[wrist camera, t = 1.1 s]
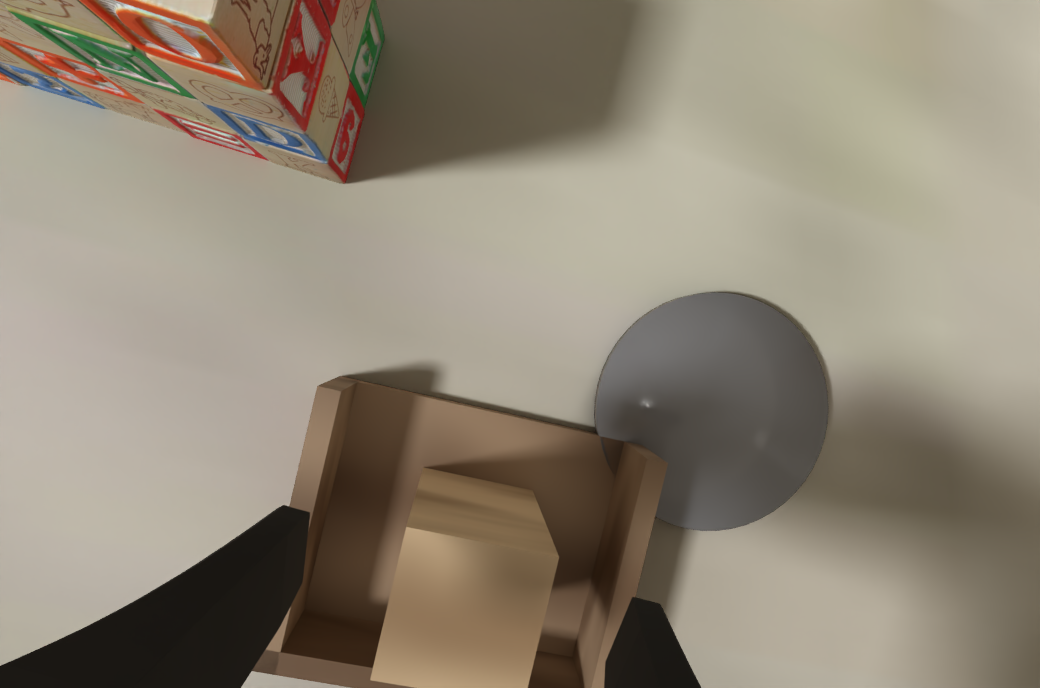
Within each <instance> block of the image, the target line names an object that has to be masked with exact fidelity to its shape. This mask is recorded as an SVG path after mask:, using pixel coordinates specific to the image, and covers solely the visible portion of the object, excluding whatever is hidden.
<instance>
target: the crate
mask: <svg viewBox="0 0 1040 688" xmlns="http://www.w3.org/2000/svg"><path fill="white" fill-rule="evenodd" d="M600 437H601V436H599V435H598V434H597V433H594V432H589V431H585V430H580V429H576V428H571V427H567V426H562V425H558V424H553V423H549V422H544V421H540V420H535V419H531V418H527V417H522V416H518V415H513V414H509V413H504V412H500V411H495V410H491V409H486V408H482V407H477V406H473V405H468V404H464V403H459V402H455V401H450V400H446V399H441V398H437V397H432V396H428V395H423V394H419V393H414V392H410V391H405V390H401V389H396V388H392V387H387V386H383V385H378V384H374V383H369V382H365V381H361V380H356V379H352V378H347V377H343V376H339V377H337V378H335V379H332V380H330V381H328V382H326V383H323V384H321V385H319V386H317V390H316V394H315V399H314V403H313V407H312V412H311V416H310V420H309V425H308V429H307V433H306V437H305V442H304V446H303V450H302V455H301V459H300V463H299V468H298V472H297V476H296V480H295V485H294V489H293V493H292V498H291V502H290V506H289V507H292V508H296V509H300V510H304V511H308V512H310V520H309V529H308V538H307V547H306V556H305V565H304V574H303V583H302V585H301V587H300V589H299V591H298V593H297V595H296V597H295V599H294V601H293V603H292V605H291V607H290V609H289V611H288V612H287V614H286V616H285V618H284V620H283V622H282V624H281V626H280V628H279V629H278V631H277V633H276V634H275V636H274V637H273V639H272V640H271V642H270V643H269V645H268V647H267V648H266V650H265V651H264V653H263V654H262V656H261V657H260V659H259V660H258V662H257V663H256V665H255V667H254V668H253V670H252V671H255V672H261V673H267V674H273V675H279V676H285V677H291V678H297V679H303V680H309V681H315V682H321V683H327V684H333V685H339V686H345V687H351V688H414V687H408V686H402V685H396V684H390V683H384V682H378V681H372V680H370V678H371V674H372V670H373V665H374V661H375V657H376V653H377V648H378V644H379V640H380V636H381V631H382V627H383V623H384V619H385V615H386V610H387V606H388V602H389V598H390V593H391V589H392V585H393V581H394V576H395V572H396V568H397V564H398V560H399V555H400V551H401V547H402V543H403V538H404V534H405V530H406V526H407V522H408V519H409V515H410V512H411V508H412V505H413V501H414V498H415V495H416V491H417V488H418V484H419V481H420V477H421V474H422V470H423V467H424V468H429V469H433V470H438V471H443V472H448V473H452V474H457V475H462V476H467V477H472V478H476V479H481V480H486V481H491V482H496V483H500V484H505V485H510V486H515V487H519V488H524V489H529V490H533V493H534V495H535V498H536V500H537V503H538V505H539V508H540V510H541V513H542V515H543V518H544V520H545V523H546V525H547V528H548V530H549V533H550V535H551V538H552V540H553V543H554V545H555V548H556V550H557V553H558V555H559V560H558V564H557V568H556V572H555V577H554V581H553V585H552V589H551V593H550V597H549V601H548V606H547V610H546V614H545V618H544V622H543V626H542V630H541V635H540V639H539V643H538V647H537V651H536V655H535V659H534V664H533V668H532V672H531V676H530V680H529V684H528V688H604V679H605V662H606V659H607V657H608V654H609V652H610V649H611V647H612V645H613V642H614V640H615V637H616V635H617V633H618V630H619V628H620V625H621V623H622V620H623V618H624V616H625V613H626V611H627V608H628V606H629V603H630V601H631V599H632V597H636V593H637V588H638V584H639V580H640V576H641V572H642V568H643V564H644V560H645V556H646V552H647V547H648V543H649V539H650V535H651V531H652V527H653V523H654V519H655V515H656V511H657V507H658V502H659V498H660V494H661V490H662V486H663V482H664V478H665V474H666V470H667V466H668V463H667V462H666V461H664V460H663V459H661V458H660V457H658V456H657V455H656V454H654V453H653V452H651V451H650V450H648V449H647V448H646V447H644V446H643V445H638V444H634V443H629V442H625V441H624V442H623V441H620V440H616V439H611V438H608V439H607V437H606V438H605V437H602V438H601V440H600ZM609 440H610V441H609ZM601 441H604V443H606V444H604V443H603V442H601ZM615 441H616V443H615ZM619 441H620V442H621V443H620V442H619ZM612 442H613V443H612ZM618 442H619V443H618ZM602 443H603V444H602ZM607 443H608V444H607ZM601 444H602V445H605V447H604V448H605V449H606V450H607V451H604V452H606V454H607V453H608V452H609V453H610V452H611V453H610V454H609V453H608V454H607V456H608V459H607V457H605V456H606V455H604V452H603V449H602V445H601ZM606 445H607V446H606ZM609 445H610V446H609ZM611 445H612V447H611ZM613 445H614V446H613ZM615 445H616V446H615ZM616 447H617V448H618V449H619V450H618V449H617V448H616ZM615 448H616V449H615ZM621 448H622V449H621ZM605 449H604V450H605ZM609 449H610V450H611V451H610V450H609ZM618 451H620V452H618ZM621 451H622V452H621ZM612 452H613V453H614V452H615V453H614V454H613V453H612ZM616 452H617V453H616ZM620 453H621V454H620ZM617 454H618V455H617ZM611 456H612V457H613V458H615V459H614V460H616V461H617V462H616V461H614V460H613V458H612V457H611ZM616 456H617V457H619V458H617V457H616ZM606 459H607V460H609V461H608V463H607V460H606ZM610 459H611V460H610ZM619 459H620V460H619ZM610 461H613V463H614V464H615V465H614V464H612V463H611V462H610ZM619 461H620V462H619ZM609 462H610V463H609ZM608 464H609V465H608ZM618 465H619V466H618ZM609 466H610V467H609ZM610 468H611V469H612V468H613V469H612V470H611V469H610ZM614 468H615V469H616V470H615V471H614ZM613 471H614V473H612V472H613ZM615 476H616V477H615Z"/></svg>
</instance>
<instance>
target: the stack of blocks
mask: <svg viewBox="0 0 1040 688" xmlns="http://www.w3.org/2000/svg"><path fill="white" fill-rule="evenodd" d="M383 42H384V31H383V27H382V23H381V19H380V15H379V10H378V7H377V3H376V0H0V79H1V80H5V81H8V82H11V83H14V84H17V85H24V84H26V85H29V86H32V87H35V88H38V89H41V90H44V91H48V92H51V93H54V94H58V95H61V96H64V97H67V98H71V99H74V100H77V101H80V102H83V103H87V104H90V105H93V106H96V107H100V108H103V109H110V110H113V111H115V112H118V113H121V114H125V115H128V116H131V117H134V118H138V119H141V120H144V121H147V122H151V123H154V124H157V125H161V126H164V127H167V128H171V129H174V130H177V131H181V132H184V133H188V134H189V135H190V136H192V137H194V138H197V139H201V140H204V141H207V142H210V143H213V144H216V145H220V146H223V147H226V148H230V149H233V150H236V151H239V152H242V153H245V154H249V155H252V156H255V157H259V158H262V159H265V160H268V161H271V162H273V163H276V164H279V165H282V166H286V167H289V168H292V169H295V170H298V171H301V172H305V173H308V174H311V175H314V176H318V177H321V178H324V179H327V180H331V181H334V182H337V183H343V184H344V183H345V182H346V179H347V175H348V172H349V168H350V164H351V161H352V157H353V154H354V150H355V146H356V143H357V139H358V135H359V132H360V128H361V124H362V120H363V117H364V108H365V105H366V101H367V98H368V94H369V91H370V87H371V84H372V80H373V77H374V73H375V70H376V66H377V63H378V59H379V55H380V51H381V48H382V45H383Z"/></svg>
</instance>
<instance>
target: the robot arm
mask: <svg viewBox="0 0 1040 688" xmlns="http://www.w3.org/2000/svg"><path fill="white" fill-rule="evenodd" d="M309 520H310V512H308V511H304V510H300V509H296V508H292V507H288V506H285V505H283V506H281V507H279V508H277V509H276V510H275V511H273V512H272V513H270V514H269V515H267V516H266V517H265V518H263V519H262V520H260V521H259V522H258V523H256V524H255V525H253V526H252V527H251V528H249V529H248V530H246V531H245V532H243V533H242V534H240V535H239V536H238V537H236V538H235V539H233V540H232V541H230V542H229V543H227V544H226V545H224V546H223V547H221V548H220V549H218V550H217V551H215V552H214V553H212V554H211V555H209V556H208V557H206V558H205V559H203V560H202V561H200V562H199V563H197V564H196V565H194V566H192V567H191V568H189V569H188V570H186V571H185V572H183V573H181V574H180V575H178V576H176V577H175V578H173V579H171V580H170V581H168V582H166V583H165V584H163V585H161V586H160V587H158V588H156V589H155V590H153V591H151V592H150V593H148V594H146V595H144V596H143V597H141V598H139V599H137V600H136V601H134V602H132V603H130V604H128V605H127V606H125V607H123V608H121V609H119V610H117V611H116V612H114V613H112V614H110V615H108V616H106V617H104V618H102V619H100V620H98V621H96V622H94V623H92V624H90V625H89V626H87V627H85V628H83V629H80V630H78V631H76V632H74V633H72V634H70V635H68V636H66V637H64V638H61V639H59V640H57V641H55V642H53V643H51V644H49V645H46V646H44V647H42V648H40V649H38V650H35V651H33V652H31V653H29V654H26V655H24V656H22V657H20V658H18V659H15V660H13V661H11V662H8V663H6V664H4V665H1V666H0V688H241V686H242V685H243V683H244V682H245V680H246V679H247V677H248V676H249V674H250V673H251V671H252V670H253V668H254V667H255V665H256V663H257V662H258V660H259V659H260V657H261V656H262V654H263V653H264V651H265V650H266V648H267V647H268V645H269V643H270V642H271V640H272V639H273V637H274V636H275V634H276V633H277V631H278V629H279V628H280V626H281V624H282V622H283V620H284V618H285V616H286V614H287V612H288V611H289V609H290V607H291V605H292V603H293V601H294V599H295V597H296V595H297V593H298V591H299V589H300V587H301V585H302V583H303V574H304V565H305V556H306V547H307V538H308V529H309ZM604 688H701V686H700V684H699V682H698V680H697V679H696V677H695V675H694V673H693V671H692V669H691V667H690V665H689V663H688V661H687V659H686V656H685V654H684V652H683V650H682V648H681V646H680V644H679V642H678V640H677V638H676V636H675V634H674V632H673V629H672V627H671V625H670V623H669V621H668V619H667V617H666V615H665V613H664V610H663V608H662V607H661V605H660V604H658V603H655V602H651V601H647V600H643V599H639V598H635V597H632V599H631V601H630V603H629V606H628V608H627V611H626V613H625V616H624V618H623V620H622V623H621V625H620V628H619V630H618V633H617V635H616V637H615V640H614V642H613V645H612V647H611V649H610V652H609V654H608V657H607V659H606V662H605V679H604Z"/></svg>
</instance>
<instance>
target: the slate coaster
mask: <svg viewBox="0 0 1040 688" xmlns="http://www.w3.org/2000/svg"><path fill="white" fill-rule="evenodd" d="M594 418H595V430H596V433H597V434H598V435H599V436H601V437H600V440H601V438H602V437H605V438H606V437H607V439H608V438H611V439H616V440H620V441H623V442H624V441H625V442H629V443H634V444H638V445H643V446H644V447H646V448H647V449H648V450H650V451H651V452H653V453H654V454H656V455H657V456H658V457H660V458H661V459H663V460H664V461H666V462H667V463H668V466H667V470H666V474H665V478H664V482H663V486H662V490H661V494H660V498H659V502H658V507H657V511H656V515H655V517H657V518H659V519H661V520H663V521H665V522H668V523H670V524H672V525H676V526H679V527H683V528H686V529H693V530H700V531H718V530H726V529H732V528H736V527H740V526H744V525H747V524H749V523H752V522H754V521H757V520H759V519H761V518H763V517H764V516H766V515H768V514H770V513H771V512H773V511H774V510H776V509H777V508H778V507H780V506H781V505H782V504H784V503H785V502H786V501H787V500H788V499H789V498H790V497H791V496H792V495H793V494H794V493H795V492H796V491H797V490H798V489H799V487H800V486H801V485H802V484H803V482H804V481H805V480H806V478H807V477H808V475H809V474H810V472H811V470H812V469H813V467H814V465H815V463H816V461H817V458H818V456H819V454H820V451H821V448H822V445H823V442H824V439H825V434H826V428H827V422H828V395H827V388H826V383H825V378H824V375H823V372H822V368H821V365H820V363H819V361H818V358H817V356H816V354H815V352H814V350H813V348H812V347H811V345H810V344H809V342H808V341H807V339H806V338H805V336H804V335H803V334H802V333H801V332H800V330H799V329H798V328H797V327H796V326H795V325H794V324H793V323H792V322H791V321H790V320H789V319H787V318H786V317H785V316H784V315H783V314H781V313H780V312H778V311H777V310H775V309H774V308H772V307H770V306H768V305H766V304H764V303H762V302H760V301H758V300H755V299H752V298H749V297H746V296H742V295H737V294H731V293H715V292H713V293H702V294H693V295H689V296H684V297H680V298H677V299H674V300H671V301H669V302H666V303H664V304H662V305H660V306H658V307H656V308H654V309H652V310H651V311H649V312H648V313H646V314H645V315H644V316H642V317H641V318H639V319H638V320H637V321H636V322H635V323H634V324H633V325H632V326H631V327H630V328H628V329H627V330H626V332H625V333H624V334H623V335H622V337H621V338H620V339H619V340H618V341H617V343H616V345H615V346H614V348H613V349H612V351H611V353H610V354H609V356H608V358H607V360H606V362H605V365H604V367H603V369H602V372H601V375H600V378H599V382H598V385H597V391H596V397H595V410H594ZM609 441H610V440H609ZM620 441H619V442H620ZM601 442H603V443H604V441H601ZM619 442H618V443H619ZM603 443H602V444H603ZM612 443H613V442H612ZM615 443H616V441H615ZM620 443H621V442H620ZM602 444H601V445H602ZM604 444H606V443H604ZM607 444H608V443H607ZM606 446H607V445H606ZM609 446H610V445H609ZM613 446H614V445H613ZM615 446H616V445H615ZM604 447H605V445H602V449H603V452H604V451H607V450H606V449H605V448H604ZM611 447H612V445H611ZM616 448H617V447H616ZM616 448H615V449H616ZM604 449H605V450H604ZM617 449H618V448H617ZM621 449H622V448H621ZM609 450H610V449H609ZM618 450H619V449H618ZM610 451H611V450H610ZM618 452H620V451H618ZM621 452H622V451H621ZM608 453H609V452H608ZM608 453H607V454H608ZM610 453H611V452H610ZM610 453H609V454H610ZM612 453H613V452H612ZM614 453H615V452H614ZM614 453H613V454H614ZM616 453H617V452H616ZM607 454H606V452H604V455H606V456H605V457H607V459H608V456H607ZM620 454H621V453H620ZM617 455H618V454H617ZM611 457H612V456H611ZM616 457H617V456H616ZM612 458H613V457H612ZM617 458H619V457H617ZM607 459H606V460H607ZM614 459H615V458H613V460H614ZM610 460H611V459H610ZM619 460H620V459H619ZM608 461H609V460H607V463H608ZM614 461H616V460H614ZM610 462H611V463H612V464H614V463H613V461H610ZM610 462H609V463H610ZM616 462H617V461H616ZM619 462H620V461H619ZM608 465H609V464H608ZM614 465H615V464H614ZM618 466H619V465H618ZM609 467H610V466H609ZM610 469H611V468H610ZM612 469H613V468H612ZM612 469H611V470H612ZM615 470H616V469H615V468H614V471H615ZM614 471H613V472H612V473H614ZM615 477H616V476H615Z"/></svg>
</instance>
